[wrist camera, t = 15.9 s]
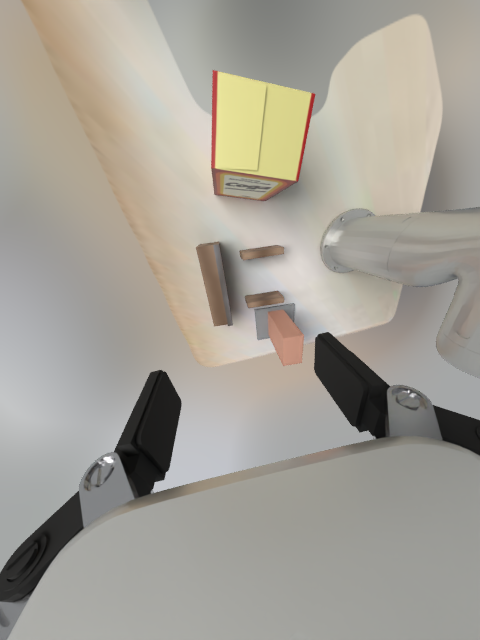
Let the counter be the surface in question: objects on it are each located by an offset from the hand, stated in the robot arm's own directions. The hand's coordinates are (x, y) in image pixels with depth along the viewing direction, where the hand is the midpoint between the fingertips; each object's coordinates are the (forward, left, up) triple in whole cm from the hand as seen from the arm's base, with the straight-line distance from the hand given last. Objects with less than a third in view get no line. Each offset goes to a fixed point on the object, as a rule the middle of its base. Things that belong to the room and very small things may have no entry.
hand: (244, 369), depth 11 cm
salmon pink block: (-11, +15, -30) cm, 36 cm away
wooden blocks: (-3, +3, -31) cm, 31 cm away
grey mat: (-10, +15, -31) cm, 36 cm away
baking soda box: (-5, -16, -31) cm, 35 cm away
